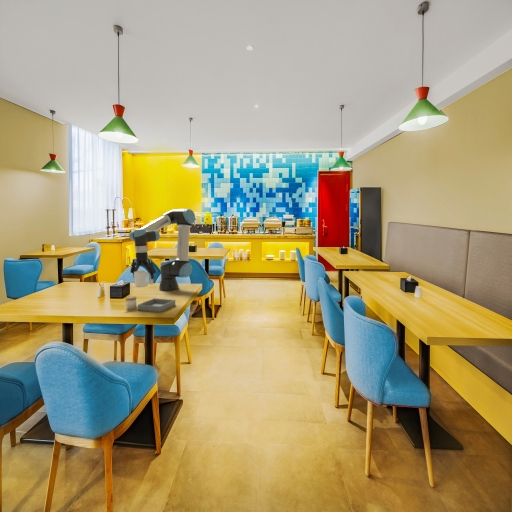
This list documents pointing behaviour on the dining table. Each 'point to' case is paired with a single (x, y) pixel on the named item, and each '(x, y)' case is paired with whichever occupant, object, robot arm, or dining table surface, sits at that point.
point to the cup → (141, 278)
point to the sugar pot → (131, 302)
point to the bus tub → (156, 305)
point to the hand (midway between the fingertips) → (144, 283)
